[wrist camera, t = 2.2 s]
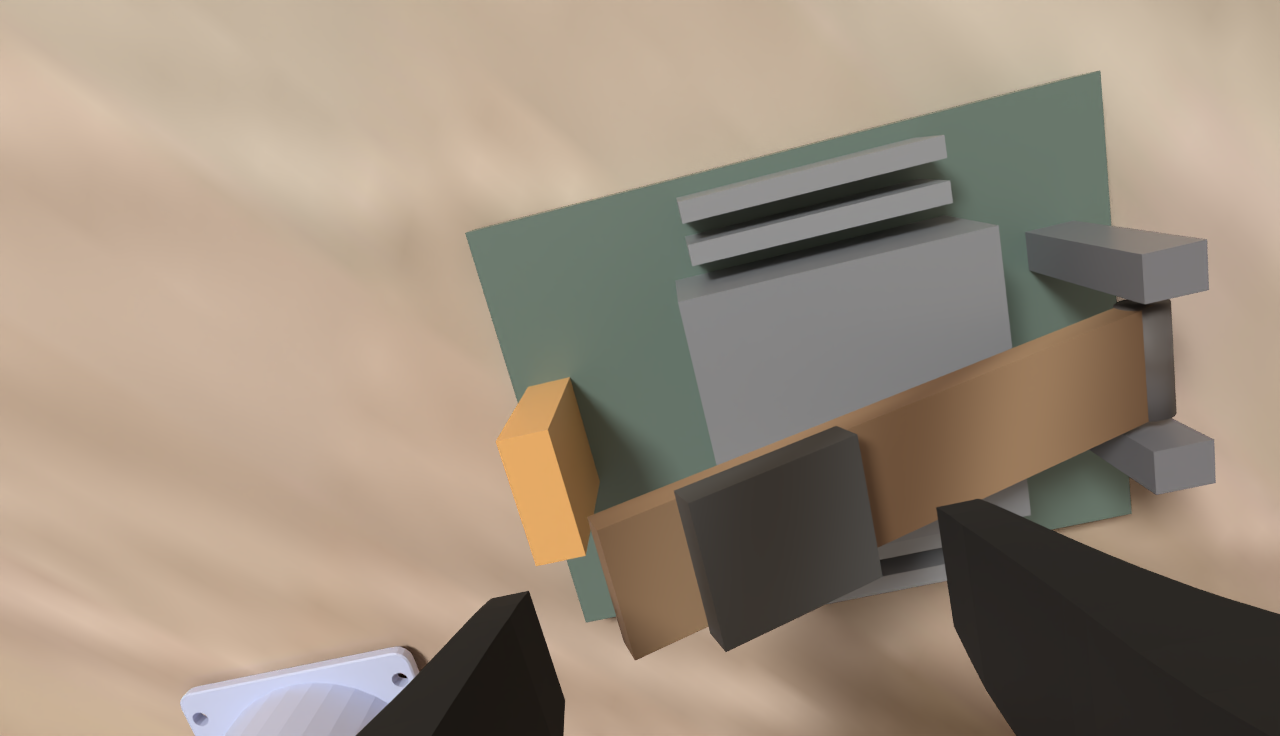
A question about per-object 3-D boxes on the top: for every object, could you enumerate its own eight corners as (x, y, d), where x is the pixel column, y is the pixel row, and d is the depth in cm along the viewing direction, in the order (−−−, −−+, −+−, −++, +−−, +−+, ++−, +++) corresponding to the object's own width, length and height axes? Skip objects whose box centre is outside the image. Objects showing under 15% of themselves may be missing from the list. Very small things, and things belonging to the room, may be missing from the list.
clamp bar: (1134, 288, 16) (1202, 293, 14) (1142, 406, 16) (1208, 421, 15) (581, 504, 12) (605, 537, 11) (622, 642, 13) (649, 689, 12)
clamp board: (1110, 497, 21) (1263, 611, 16) (589, 602, 23) (567, 740, 17) (1076, 75, 18) (1253, 38, 13) (474, 229, 20) (404, 255, 14)
